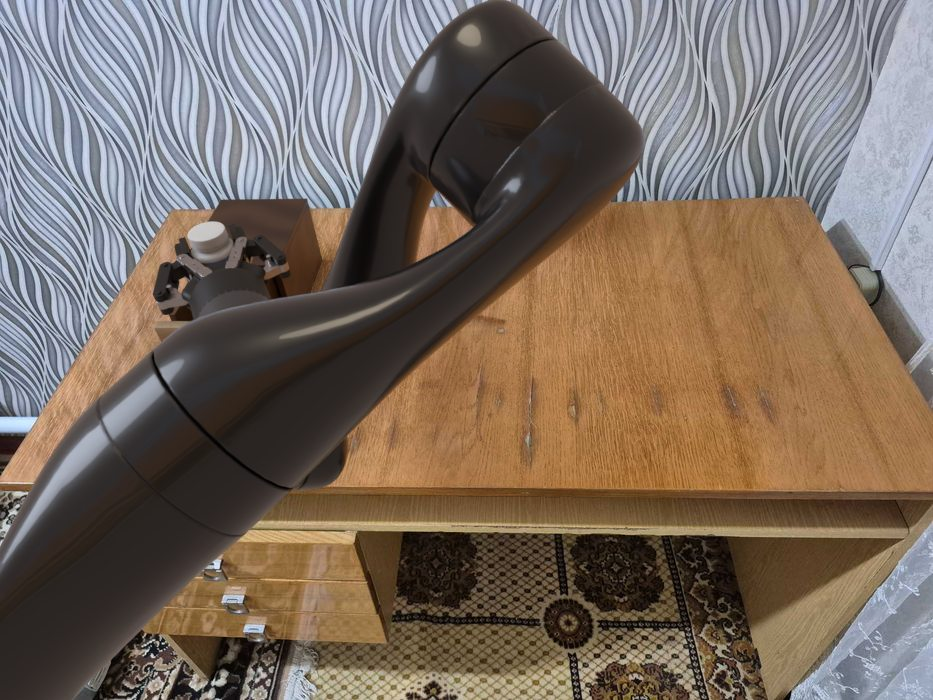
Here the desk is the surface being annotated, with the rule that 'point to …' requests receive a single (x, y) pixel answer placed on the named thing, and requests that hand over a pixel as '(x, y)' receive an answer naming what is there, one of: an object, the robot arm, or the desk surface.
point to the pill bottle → (210, 243)
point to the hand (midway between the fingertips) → (208, 238)
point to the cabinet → (278, 235)
